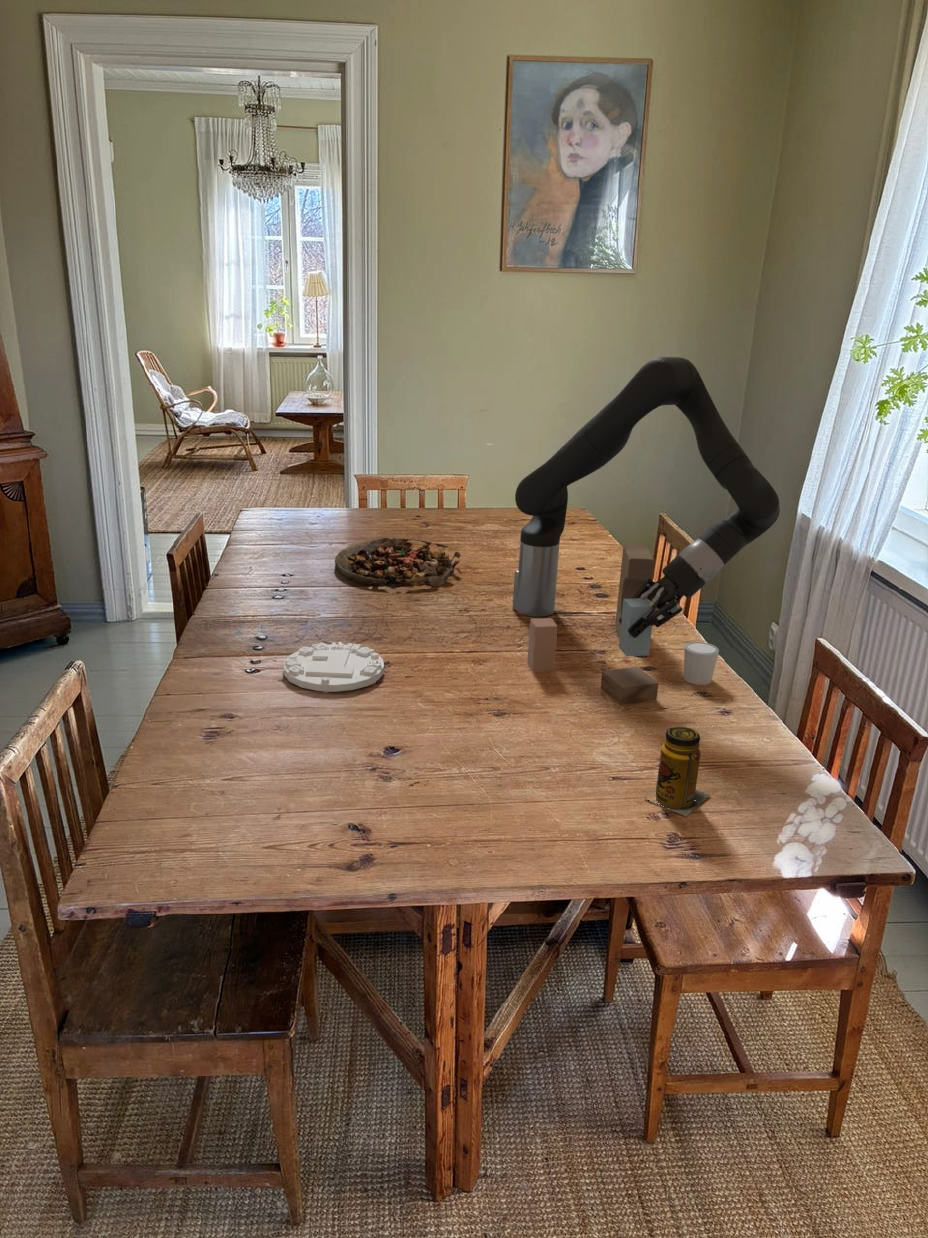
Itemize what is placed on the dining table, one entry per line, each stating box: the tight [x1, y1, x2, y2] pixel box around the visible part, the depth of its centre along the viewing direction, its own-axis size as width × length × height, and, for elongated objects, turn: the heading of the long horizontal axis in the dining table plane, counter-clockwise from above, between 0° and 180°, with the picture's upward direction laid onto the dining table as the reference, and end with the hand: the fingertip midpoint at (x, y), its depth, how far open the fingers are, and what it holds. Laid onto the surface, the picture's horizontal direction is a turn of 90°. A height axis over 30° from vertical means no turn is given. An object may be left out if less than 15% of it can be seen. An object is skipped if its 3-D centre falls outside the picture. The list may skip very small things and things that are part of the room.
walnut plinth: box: [600, 666, 660, 706], centre depth 185 cm, size 8×8×4 cm
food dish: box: [334, 537, 462, 588], centre depth 251 cm, size 35×33×8 cm
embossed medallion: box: [283, 641, 385, 694], centre depth 189 cm, size 20×20×3 cm
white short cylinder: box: [682, 641, 720, 686], centre depth 192 cm, size 7×7×7 cm
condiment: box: [644, 725, 711, 818], centre depth 148 cm, size 7×8×12 cm
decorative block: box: [614, 544, 656, 640], centre depth 210 cm, size 11×6×20 cm, turn 177°
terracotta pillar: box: [527, 617, 558, 673], centre depth 194 cm, size 4×4×10 cm
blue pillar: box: [618, 598, 654, 657], centre depth 180 cm, size 4×4×10 cm
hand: (626, 629), depth 180 cm, fingers closed on blue pillar, 4 cm apart
